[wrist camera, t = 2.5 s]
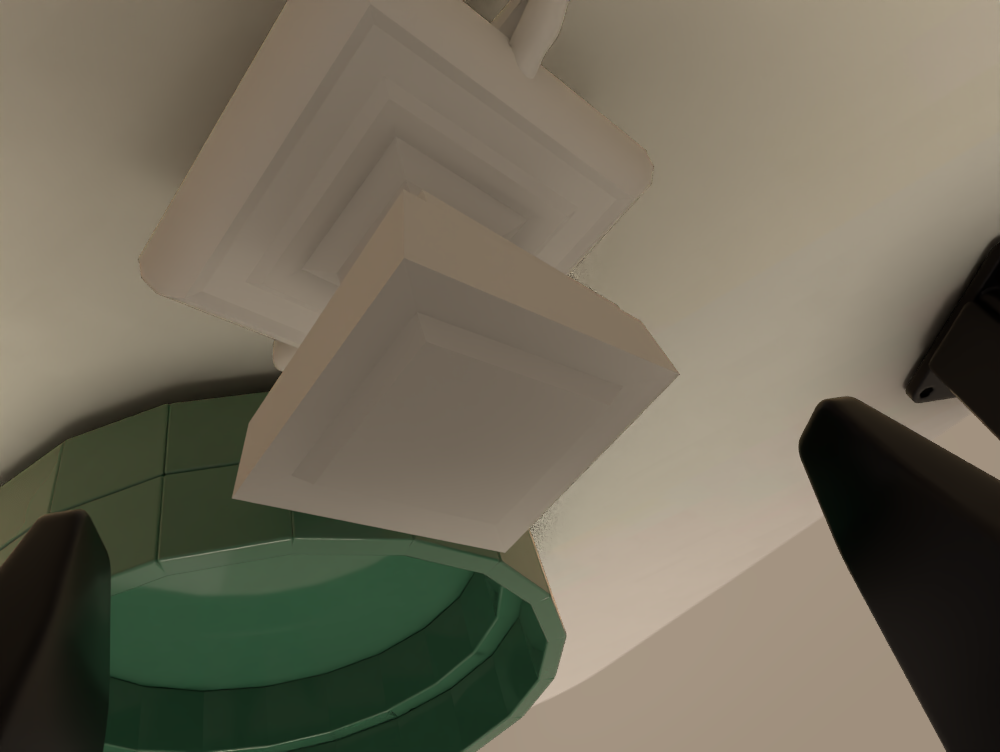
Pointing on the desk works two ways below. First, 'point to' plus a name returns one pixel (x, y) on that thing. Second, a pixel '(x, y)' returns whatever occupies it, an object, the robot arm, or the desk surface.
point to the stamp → (415, 266)
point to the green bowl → (284, 604)
